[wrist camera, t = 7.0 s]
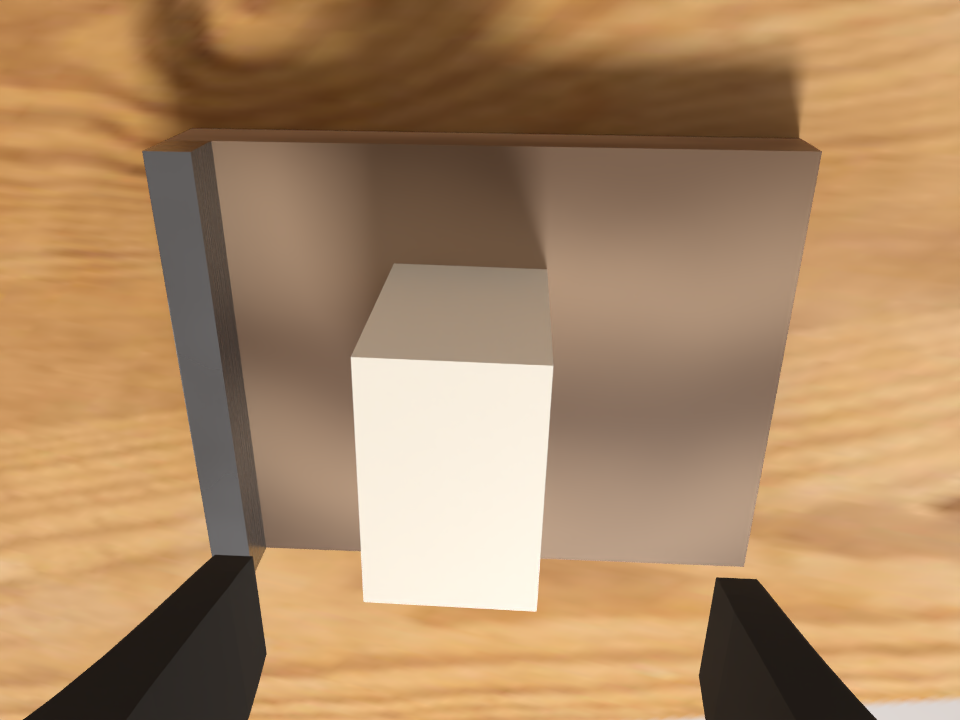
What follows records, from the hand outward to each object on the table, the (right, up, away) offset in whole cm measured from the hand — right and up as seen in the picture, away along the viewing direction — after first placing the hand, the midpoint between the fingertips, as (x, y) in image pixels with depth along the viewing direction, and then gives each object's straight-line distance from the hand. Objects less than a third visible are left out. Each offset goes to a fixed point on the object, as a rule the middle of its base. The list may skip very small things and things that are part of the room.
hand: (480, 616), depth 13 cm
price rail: (-6, +4, +7) cm, 10 cm away
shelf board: (0, +4, +8) cm, 9 cm away
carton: (0, +4, +7) cm, 8 cm away
